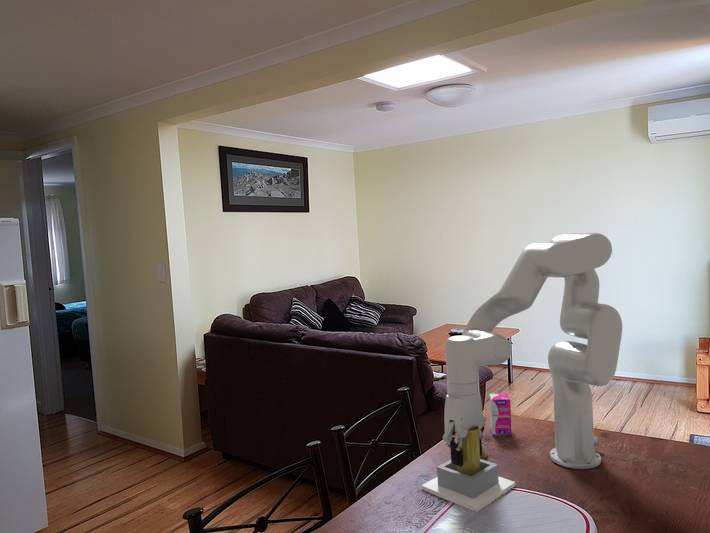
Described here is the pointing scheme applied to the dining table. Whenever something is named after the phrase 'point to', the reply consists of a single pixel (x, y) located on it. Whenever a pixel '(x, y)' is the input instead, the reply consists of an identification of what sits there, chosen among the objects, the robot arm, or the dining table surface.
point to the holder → (468, 485)
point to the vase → (470, 453)
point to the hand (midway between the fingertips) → (466, 458)
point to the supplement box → (500, 414)
